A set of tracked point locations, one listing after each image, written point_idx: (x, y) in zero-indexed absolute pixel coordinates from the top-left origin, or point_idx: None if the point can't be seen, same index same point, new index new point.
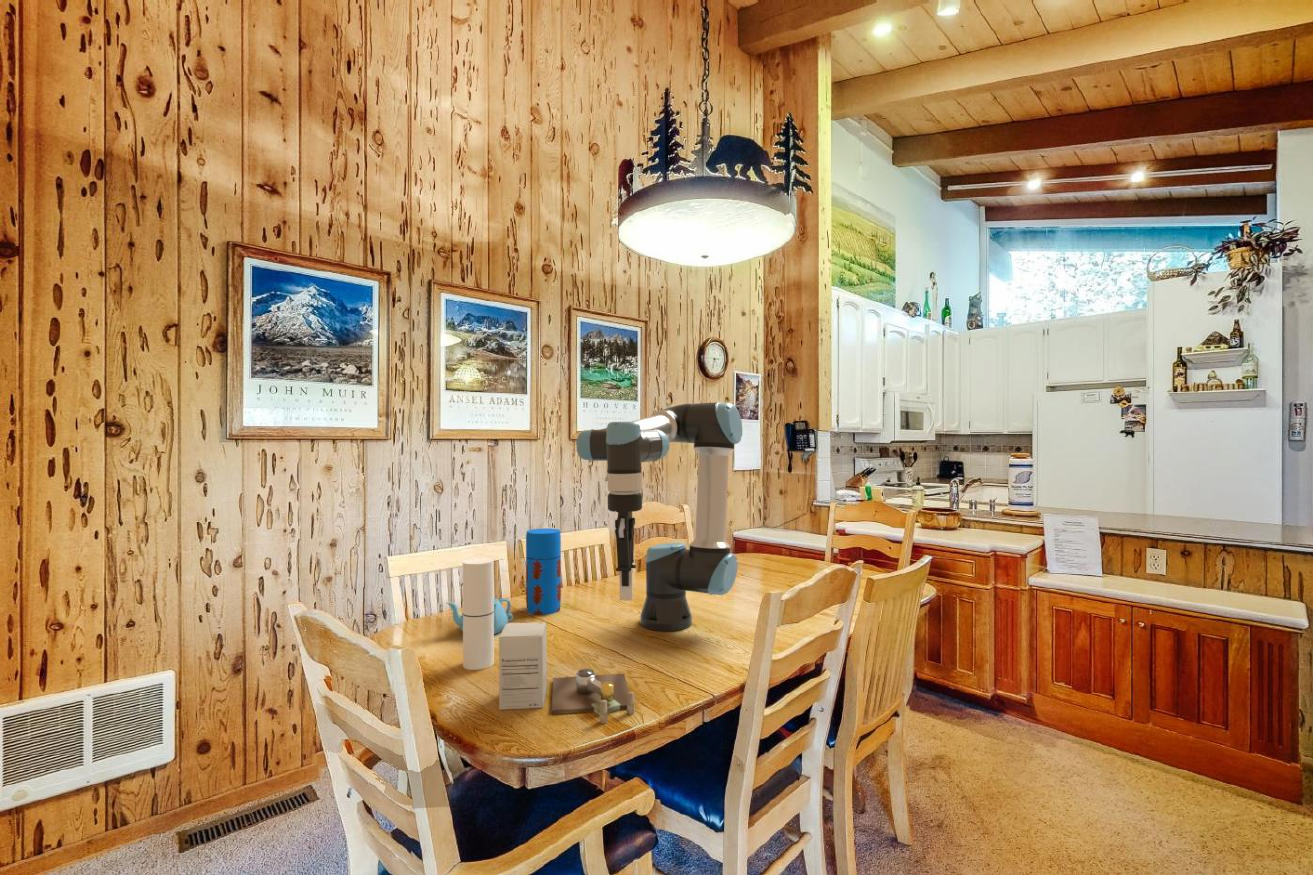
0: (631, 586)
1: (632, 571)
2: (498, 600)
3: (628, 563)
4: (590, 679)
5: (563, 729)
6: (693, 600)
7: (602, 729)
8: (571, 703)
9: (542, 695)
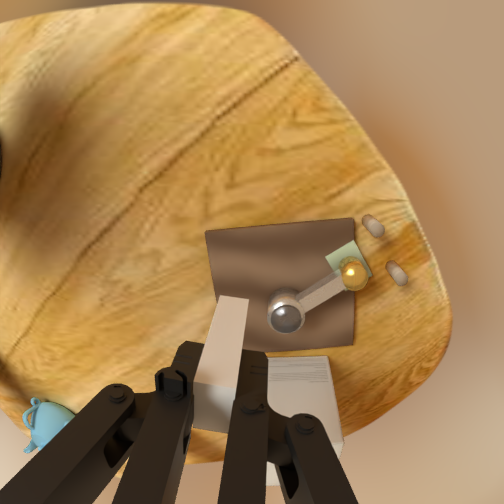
0: (243, 334)
1: (199, 373)
2: (35, 432)
3: (334, 453)
4: (304, 307)
5: (399, 320)
6: None
7: (412, 266)
8: (333, 320)
9: (329, 367)
